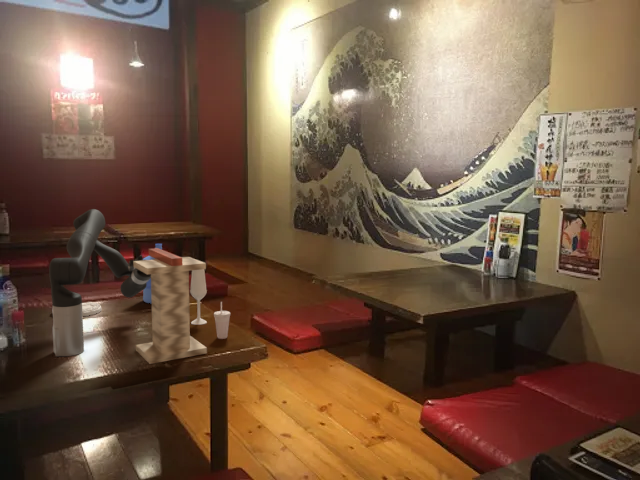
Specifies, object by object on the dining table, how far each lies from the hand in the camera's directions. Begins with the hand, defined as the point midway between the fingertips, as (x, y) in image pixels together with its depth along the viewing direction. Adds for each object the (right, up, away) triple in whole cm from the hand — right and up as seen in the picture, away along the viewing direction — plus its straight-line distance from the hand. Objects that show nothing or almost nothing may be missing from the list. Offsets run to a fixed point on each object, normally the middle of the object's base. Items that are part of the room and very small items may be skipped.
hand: (153, 256), depth 198 cm
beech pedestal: (+10, -33, -11) cm, 36 cm away
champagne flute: (+11, -29, +26) cm, 40 cm away
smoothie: (+25, -31, +6) cm, 40 cm away
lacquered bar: (+8, -1, -11) cm, 13 cm away
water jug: (-16, -24, +62) cm, 69 cm away
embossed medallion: (-46, -27, +39) cm, 66 cm away
